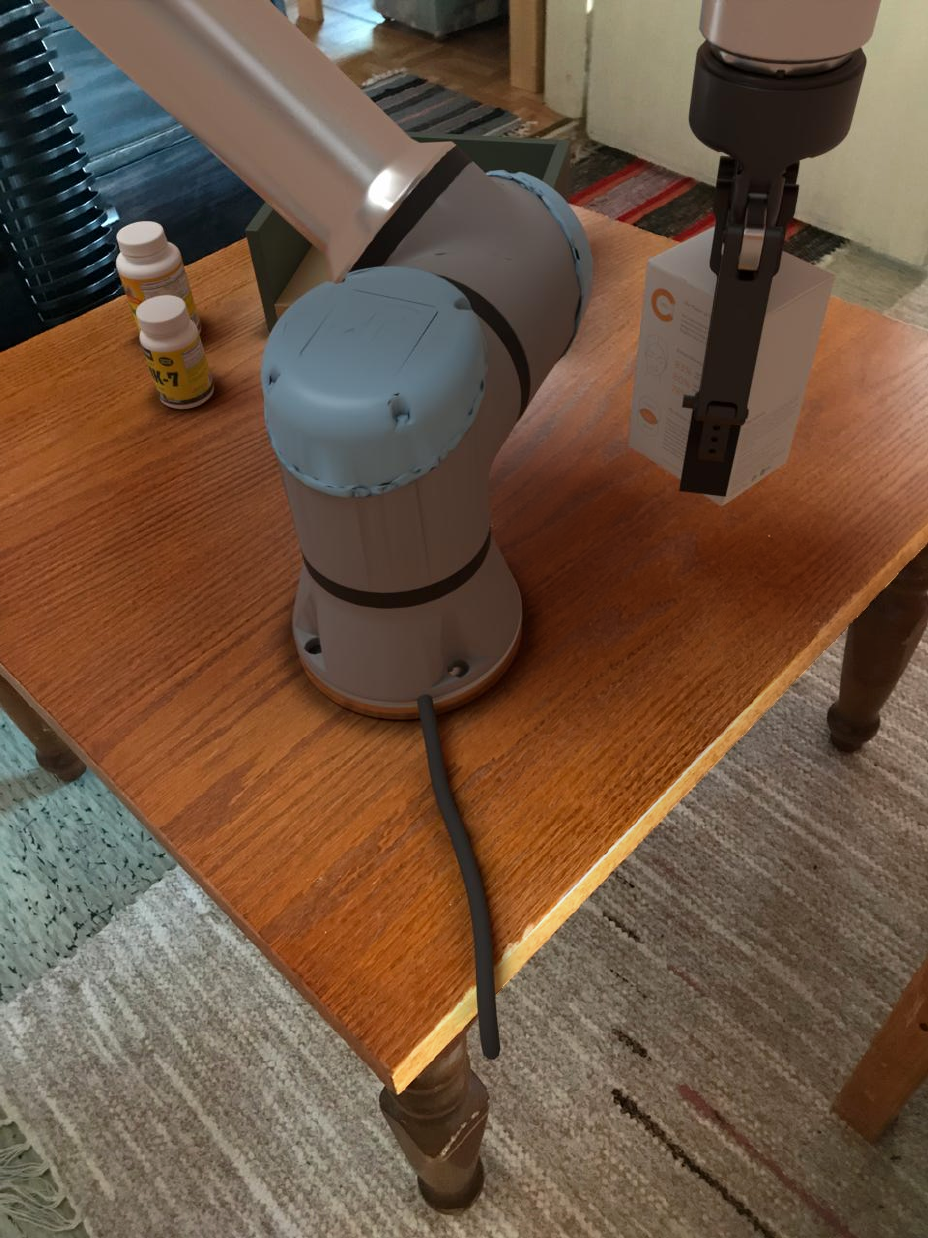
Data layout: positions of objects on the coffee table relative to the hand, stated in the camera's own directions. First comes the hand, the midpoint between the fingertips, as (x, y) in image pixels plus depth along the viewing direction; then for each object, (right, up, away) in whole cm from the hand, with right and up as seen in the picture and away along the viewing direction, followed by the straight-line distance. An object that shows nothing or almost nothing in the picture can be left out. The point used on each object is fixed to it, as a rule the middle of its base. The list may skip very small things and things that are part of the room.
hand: (709, 434), depth 61 cm
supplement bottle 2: (-39, +8, +24) cm, 47 cm away
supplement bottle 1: (-42, +15, +30) cm, 54 cm away
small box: (0, -1, +1) cm, 2 cm away
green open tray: (-19, +21, +33) cm, 44 cm away
